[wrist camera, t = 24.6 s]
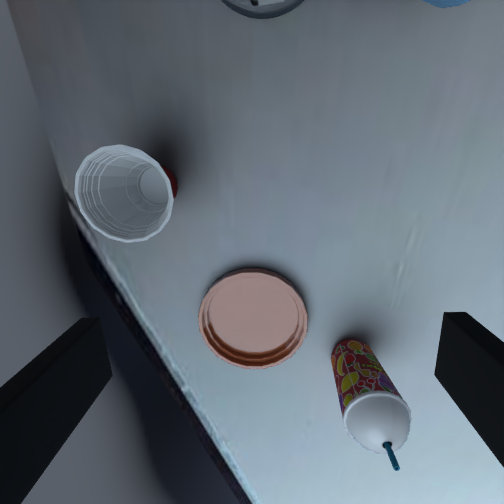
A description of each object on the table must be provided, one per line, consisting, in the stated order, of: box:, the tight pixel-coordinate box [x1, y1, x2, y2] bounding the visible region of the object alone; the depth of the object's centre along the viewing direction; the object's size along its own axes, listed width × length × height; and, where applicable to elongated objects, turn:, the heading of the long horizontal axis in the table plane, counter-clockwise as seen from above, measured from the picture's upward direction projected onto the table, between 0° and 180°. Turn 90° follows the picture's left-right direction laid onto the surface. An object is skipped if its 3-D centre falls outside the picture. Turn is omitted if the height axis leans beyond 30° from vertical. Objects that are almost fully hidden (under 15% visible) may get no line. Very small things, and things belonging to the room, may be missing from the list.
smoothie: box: [331, 339, 412, 471], centre depth 42 cm, size 8×8×20 cm
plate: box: [198, 268, 308, 369], centre depth 50 cm, size 17×17×2 cm
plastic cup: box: [74, 145, 178, 243], centre depth 39 cm, size 11×11×12 cm
